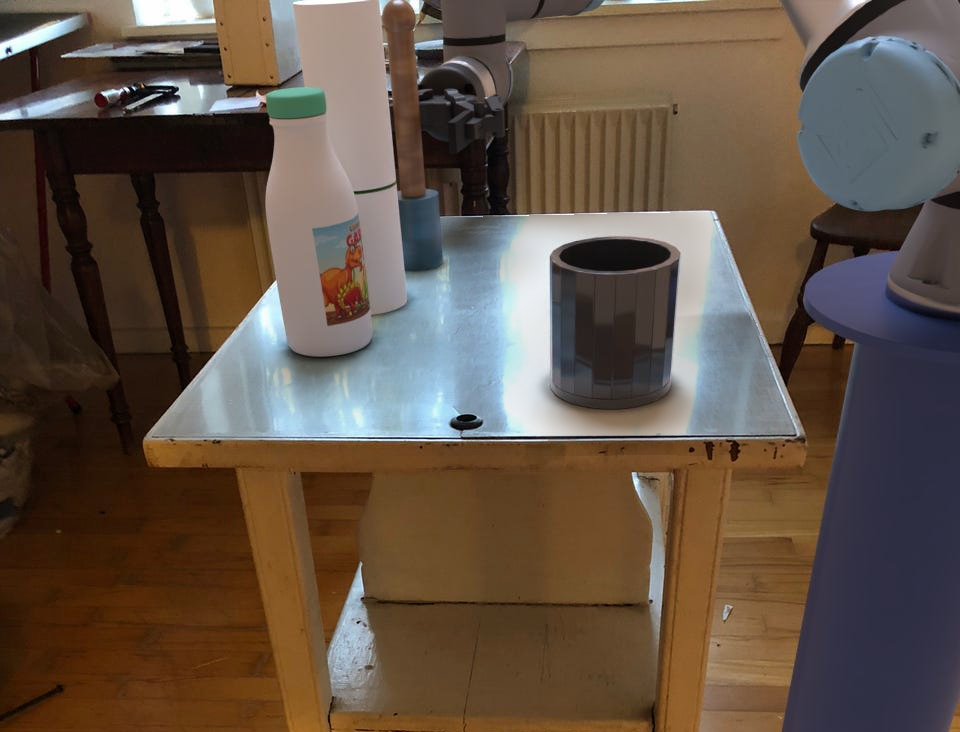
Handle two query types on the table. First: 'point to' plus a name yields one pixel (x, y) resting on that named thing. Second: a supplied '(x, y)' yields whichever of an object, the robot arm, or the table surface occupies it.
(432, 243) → the long cylindrical rod
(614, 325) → the slatted pencil holder
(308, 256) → the milk bottle
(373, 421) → the table surface
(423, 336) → the table surface
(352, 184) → the cylindrical container
